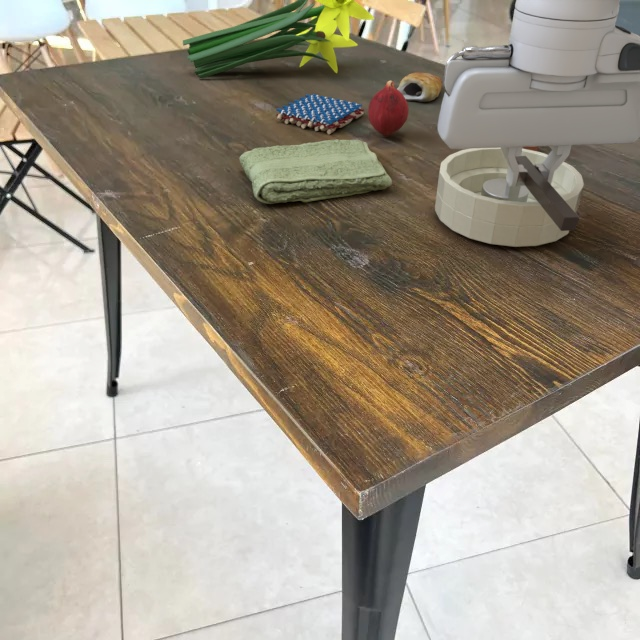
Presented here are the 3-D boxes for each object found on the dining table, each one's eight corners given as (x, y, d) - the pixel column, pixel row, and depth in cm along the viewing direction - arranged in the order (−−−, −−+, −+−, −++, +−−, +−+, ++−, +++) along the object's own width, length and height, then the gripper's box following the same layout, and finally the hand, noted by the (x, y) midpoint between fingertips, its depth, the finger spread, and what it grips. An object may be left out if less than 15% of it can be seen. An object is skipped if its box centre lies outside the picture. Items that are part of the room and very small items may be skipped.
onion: (408, 144, 93) (413, 87, 89) (368, 143, 93) (371, 87, 89) (403, 129, 98) (408, 75, 93) (365, 129, 98) (368, 75, 93)
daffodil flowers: (201, 62, 129) (372, 10, 125) (211, 121, 124) (389, 69, 120) (167, -5, 114) (360, -67, 110) (176, 60, 108) (379, -3, 104)
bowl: (541, 185, 83) (551, 144, 79) (594, 248, 70) (608, 202, 67) (421, 190, 81) (426, 148, 78) (454, 254, 69) (461, 208, 66)
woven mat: (331, 136, 96) (331, 123, 94) (273, 122, 100) (273, 109, 99) (366, 116, 103) (367, 103, 101) (311, 103, 107) (310, 91, 106)
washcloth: (396, 193, 81) (398, 168, 79) (257, 211, 77) (256, 186, 75) (361, 153, 91) (362, 130, 89) (237, 167, 87) (235, 144, 85)
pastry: (414, 84, 116) (416, 62, 113) (450, 90, 113) (453, 67, 111) (393, 99, 109) (395, 75, 107) (430, 106, 107) (433, 82, 104)
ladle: (474, 194, 77) (483, 140, 73) (517, 192, 78) (528, 138, 74) (529, 280, 62) (544, 218, 58) (581, 277, 63) (599, 216, 59)
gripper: (456, 56, 56) (437, 200, 64) (680, 51, 58) (634, 193, 66) (438, 37, 61) (424, 174, 70) (645, 34, 63) (607, 167, 71)
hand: (528, 183), depth 68 cm, fingers closed on ladle
